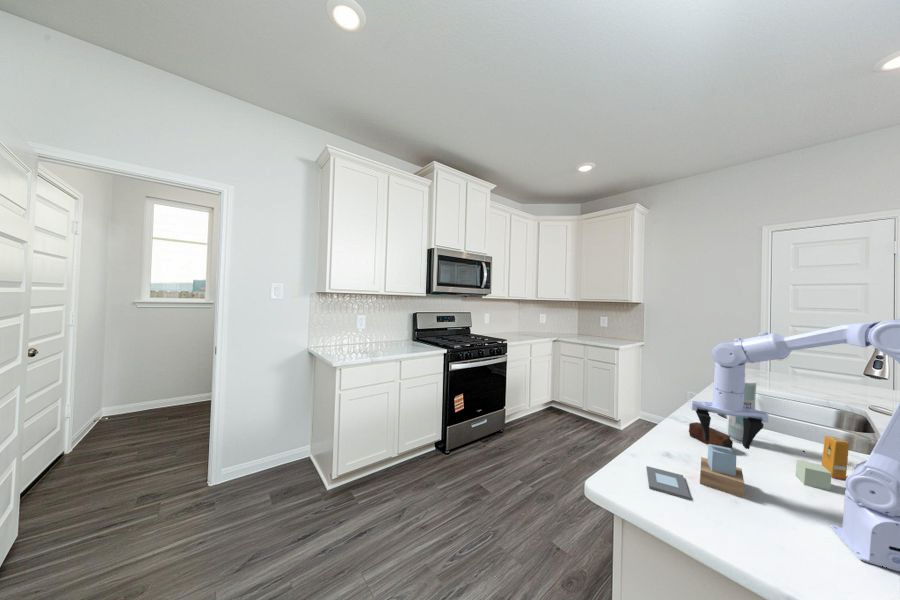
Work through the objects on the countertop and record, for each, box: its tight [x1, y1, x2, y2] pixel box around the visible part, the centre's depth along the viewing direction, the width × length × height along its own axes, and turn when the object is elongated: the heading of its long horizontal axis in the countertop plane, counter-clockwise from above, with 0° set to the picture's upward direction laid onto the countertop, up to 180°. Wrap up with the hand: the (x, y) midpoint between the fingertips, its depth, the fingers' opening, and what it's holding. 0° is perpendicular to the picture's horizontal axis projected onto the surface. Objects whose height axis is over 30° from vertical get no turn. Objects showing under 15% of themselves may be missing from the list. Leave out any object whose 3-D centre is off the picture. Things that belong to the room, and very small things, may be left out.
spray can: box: [726, 378, 757, 445], centre depth 102 cm, size 6×6×20 cm
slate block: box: [707, 444, 737, 477], centre depth 78 cm, size 4×4×5 cm
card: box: [646, 465, 691, 501], centre depth 78 cm, size 10×8×1 cm
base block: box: [699, 456, 745, 499], centre depth 78 cm, size 8×8×4 cm
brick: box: [688, 422, 734, 450], centre depth 100 cm, size 11×4×5 cm, turn 16°
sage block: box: [795, 459, 832, 492], centre depth 79 cm, size 4×4×4 cm
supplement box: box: [821, 435, 850, 480], centre depth 83 cm, size 3×3×10 cm
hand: (725, 443), depth 78 cm, fingers open, 7 cm apart
